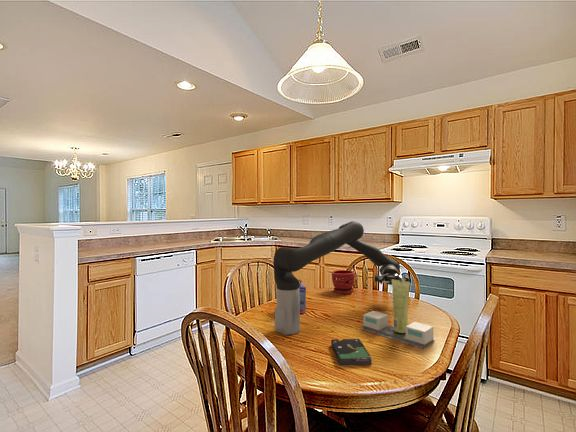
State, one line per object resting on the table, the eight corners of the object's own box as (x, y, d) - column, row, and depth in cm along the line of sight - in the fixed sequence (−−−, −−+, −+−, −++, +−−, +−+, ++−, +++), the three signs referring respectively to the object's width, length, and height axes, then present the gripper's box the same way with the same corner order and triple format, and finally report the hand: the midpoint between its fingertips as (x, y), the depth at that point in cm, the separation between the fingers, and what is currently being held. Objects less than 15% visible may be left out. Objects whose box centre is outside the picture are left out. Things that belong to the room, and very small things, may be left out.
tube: (406, 329, 124) (406, 279, 124) (410, 333, 119) (410, 281, 119) (392, 328, 124) (391, 279, 125) (395, 333, 119) (394, 281, 120)
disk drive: (330, 347, 113) (339, 367, 98) (330, 339, 113) (339, 358, 98) (359, 346, 113) (372, 366, 98) (359, 338, 113) (372, 357, 98)
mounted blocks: (424, 344, 110) (424, 332, 110) (363, 325, 128) (363, 314, 128) (433, 338, 115) (433, 326, 115) (372, 321, 133) (372, 310, 133)
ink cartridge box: (306, 313, 147) (306, 282, 147) (295, 314, 146) (294, 283, 145) (300, 306, 157) (299, 277, 156) (289, 307, 155) (289, 278, 155)
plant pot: (358, 290, 185) (357, 270, 185) (349, 296, 174) (349, 274, 174) (337, 288, 192) (337, 268, 192) (328, 293, 181) (328, 272, 181)
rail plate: (422, 349, 109) (422, 346, 109) (361, 329, 127) (361, 326, 127) (435, 340, 116) (435, 337, 116) (375, 322, 134) (375, 320, 134)
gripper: (374, 266, 150) (374, 272, 134) (406, 267, 146) (410, 274, 130) (374, 281, 150) (374, 290, 134) (406, 283, 146) (410, 292, 130)
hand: (392, 282), depth 132 cm, fingers open, 8 cm apart
